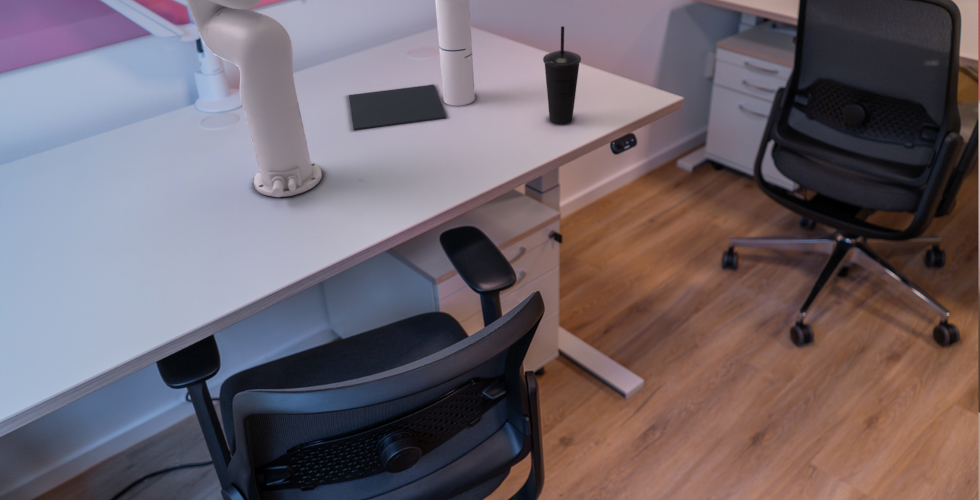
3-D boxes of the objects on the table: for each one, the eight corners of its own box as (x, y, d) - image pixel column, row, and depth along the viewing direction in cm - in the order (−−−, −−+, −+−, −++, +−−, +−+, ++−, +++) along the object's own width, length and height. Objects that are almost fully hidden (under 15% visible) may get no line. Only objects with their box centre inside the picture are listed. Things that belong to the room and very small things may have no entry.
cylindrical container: (438, 96, 167) (429, -15, 153) (467, 90, 170) (460, -20, 155) (450, 108, 162) (441, -6, 147) (479, 101, 164) (473, -12, 150)
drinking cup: (578, 111, 158) (582, 20, 146) (579, 127, 152) (582, 33, 140) (543, 111, 159) (543, 20, 147) (542, 127, 152) (542, 33, 141)
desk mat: (446, 118, 158) (446, 116, 158) (353, 130, 155) (353, 128, 155) (433, 86, 172) (433, 84, 172) (348, 96, 169) (348, 95, 169)
